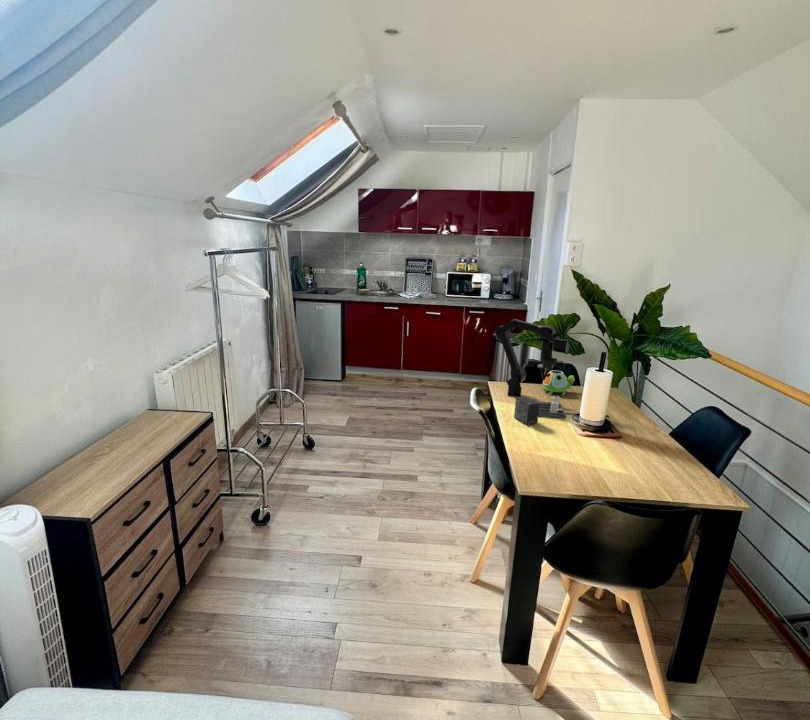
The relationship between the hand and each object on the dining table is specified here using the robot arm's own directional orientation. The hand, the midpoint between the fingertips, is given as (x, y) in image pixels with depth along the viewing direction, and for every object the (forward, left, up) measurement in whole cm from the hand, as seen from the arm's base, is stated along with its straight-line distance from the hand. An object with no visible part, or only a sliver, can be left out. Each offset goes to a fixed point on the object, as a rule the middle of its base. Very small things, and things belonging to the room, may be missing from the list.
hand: (543, 379), depth 241 cm
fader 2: (+3, -21, -10) cm, 23 cm away
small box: (-11, -30, -12) cm, 34 cm away
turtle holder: (+10, +18, -12) cm, 24 cm away
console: (+1, -14, -12) cm, 18 cm away
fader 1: (+5, -12, -10) cm, 16 cm away
